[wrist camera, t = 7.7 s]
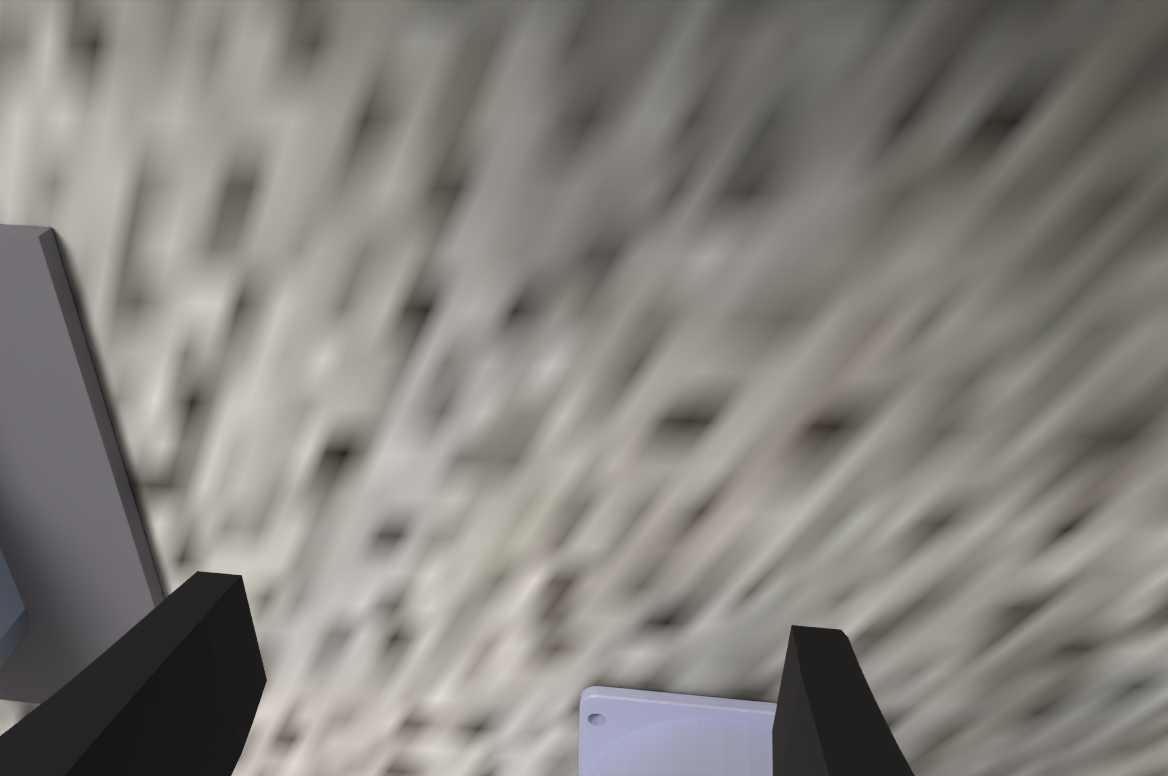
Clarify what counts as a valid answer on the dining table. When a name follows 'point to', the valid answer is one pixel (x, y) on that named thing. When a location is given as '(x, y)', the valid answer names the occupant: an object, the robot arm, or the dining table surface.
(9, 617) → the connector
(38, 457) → the mat
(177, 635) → the robot arm
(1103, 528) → the dining table surface
